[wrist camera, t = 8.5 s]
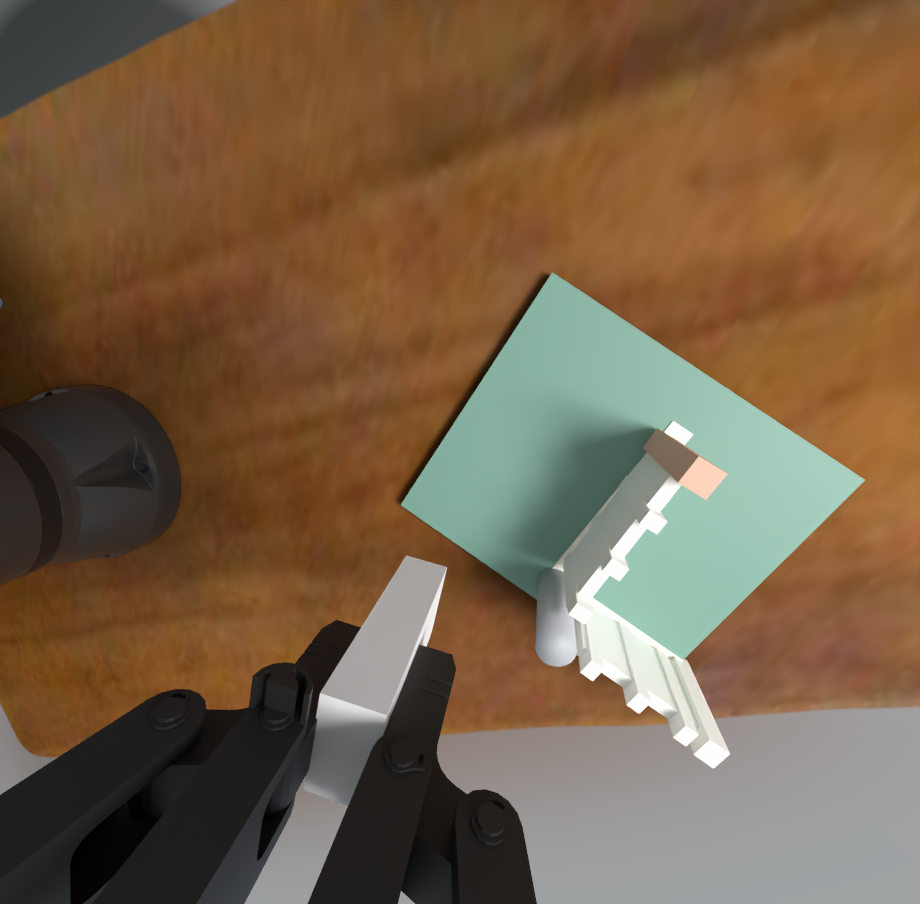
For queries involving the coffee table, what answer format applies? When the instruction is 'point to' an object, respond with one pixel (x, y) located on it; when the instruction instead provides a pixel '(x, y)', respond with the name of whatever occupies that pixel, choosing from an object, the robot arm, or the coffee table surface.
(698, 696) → the fixed fence
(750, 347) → the coffee table surface
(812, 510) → the board
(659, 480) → the white crenellated wall
